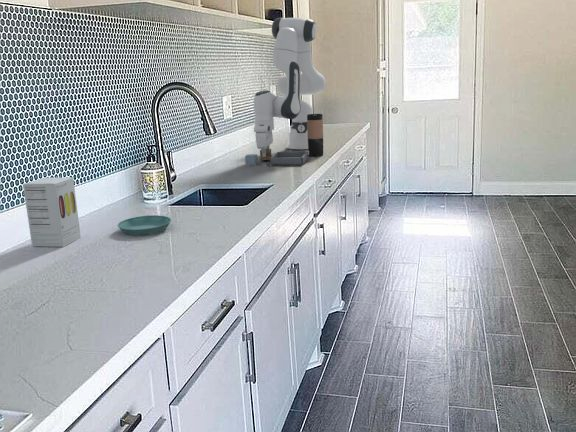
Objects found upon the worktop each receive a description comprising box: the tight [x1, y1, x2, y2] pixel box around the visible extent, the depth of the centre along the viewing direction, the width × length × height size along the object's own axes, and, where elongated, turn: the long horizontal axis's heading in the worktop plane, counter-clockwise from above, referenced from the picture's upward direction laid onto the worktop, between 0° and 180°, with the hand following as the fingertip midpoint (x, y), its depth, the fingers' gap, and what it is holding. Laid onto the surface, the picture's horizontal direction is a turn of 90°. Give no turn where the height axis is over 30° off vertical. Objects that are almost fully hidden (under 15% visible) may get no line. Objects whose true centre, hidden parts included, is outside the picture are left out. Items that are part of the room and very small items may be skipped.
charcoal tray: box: [269, 150, 309, 167], centre depth 271 cm, size 19×15×4 cm
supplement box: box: [22, 176, 82, 248], centre depth 155 cm, size 10×9×17 cm
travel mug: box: [307, 113, 324, 158], centre depth 285 cm, size 8×8×20 cm
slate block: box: [244, 153, 258, 166], centre depth 269 cm, size 4×4×4 cm
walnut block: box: [259, 148, 273, 161], centre depth 278 cm, size 4×4×4 cm
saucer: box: [116, 214, 172, 236], centre depth 165 cm, size 15×15×3 cm
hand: (265, 155), depth 278 cm, fingers closed on walnut block, 4 cm apart
